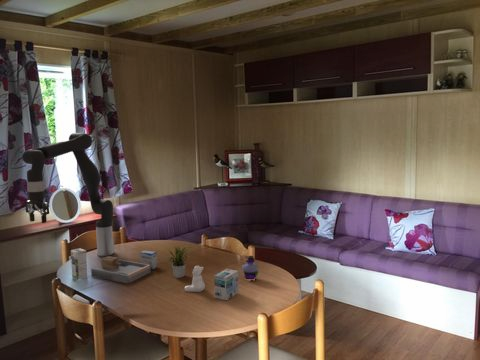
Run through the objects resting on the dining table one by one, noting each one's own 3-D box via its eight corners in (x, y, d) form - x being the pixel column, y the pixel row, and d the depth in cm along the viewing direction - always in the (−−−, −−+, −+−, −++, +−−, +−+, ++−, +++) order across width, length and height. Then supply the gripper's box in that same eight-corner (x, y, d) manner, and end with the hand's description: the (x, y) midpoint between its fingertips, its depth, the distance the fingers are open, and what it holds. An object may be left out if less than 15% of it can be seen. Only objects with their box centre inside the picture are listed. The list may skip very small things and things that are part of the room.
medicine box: (140, 267, 238) (139, 252, 237) (145, 265, 242) (144, 250, 241) (152, 269, 235) (152, 253, 234) (157, 266, 239) (156, 251, 238)
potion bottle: (257, 283, 214) (257, 259, 212) (240, 281, 215) (240, 258, 214) (260, 276, 222) (260, 254, 221) (243, 275, 224) (243, 253, 222)
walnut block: (108, 265, 235) (108, 256, 234) (118, 266, 232) (118, 257, 231) (101, 267, 230) (101, 258, 230) (112, 269, 227) (111, 260, 226)
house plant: (200, 275, 224) (200, 245, 222) (179, 283, 214) (178, 251, 212) (182, 269, 234) (182, 240, 232) (162, 276, 224) (161, 245, 222)
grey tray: (116, 265, 241) (115, 258, 241) (150, 272, 230) (150, 264, 230) (91, 276, 225) (91, 268, 225) (127, 283, 215) (127, 275, 214)
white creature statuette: (196, 284, 212) (196, 261, 211) (210, 288, 207) (210, 264, 206) (183, 291, 205) (182, 266, 203) (197, 295, 200) (196, 269, 198)
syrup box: (71, 277, 223) (70, 250, 221) (82, 274, 228) (81, 247, 226) (77, 280, 219) (75, 252, 217) (88, 277, 224) (86, 249, 222)
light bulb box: (226, 301, 193) (226, 277, 191) (214, 298, 196) (213, 275, 195) (239, 293, 202) (239, 270, 200) (227, 290, 205) (227, 268, 204)
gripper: (52, 189, 217) (54, 221, 219) (32, 188, 223) (34, 219, 226) (39, 192, 210) (41, 225, 213) (19, 190, 217) (22, 222, 219)
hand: (38, 222), depth 219 cm, fingers open, 8 cm apart
